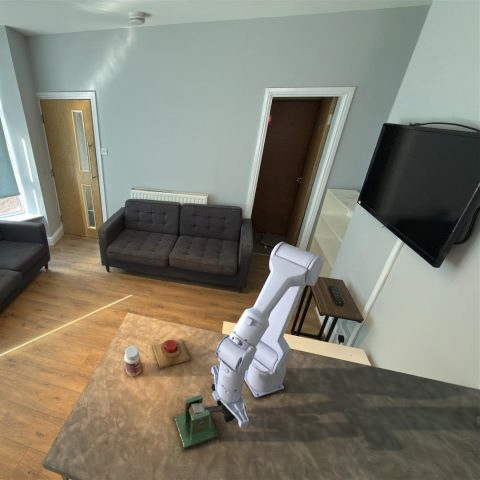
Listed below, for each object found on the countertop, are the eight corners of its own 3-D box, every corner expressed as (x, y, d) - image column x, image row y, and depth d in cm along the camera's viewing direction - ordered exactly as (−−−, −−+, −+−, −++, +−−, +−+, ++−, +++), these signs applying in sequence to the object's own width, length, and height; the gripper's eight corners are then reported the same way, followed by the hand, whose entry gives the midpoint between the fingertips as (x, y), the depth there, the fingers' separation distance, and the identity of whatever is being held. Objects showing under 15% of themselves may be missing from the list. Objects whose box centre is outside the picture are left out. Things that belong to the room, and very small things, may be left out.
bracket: (205, 409, 71) (207, 387, 67) (217, 436, 65) (221, 415, 61) (174, 419, 69) (174, 398, 64) (184, 449, 63) (184, 428, 58)
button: (174, 342, 87) (174, 339, 87) (178, 351, 84) (178, 347, 84) (164, 345, 87) (164, 341, 86) (167, 354, 84) (167, 350, 83)
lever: (226, 405, 69) (231, 397, 68) (232, 418, 67) (237, 409, 66) (187, 409, 65) (191, 400, 64) (192, 422, 62) (197, 413, 61)
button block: (180, 340, 91) (181, 334, 90) (189, 360, 84) (189, 353, 83) (153, 348, 89) (153, 341, 88) (159, 368, 82) (159, 361, 81)
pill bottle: (138, 377, 79) (137, 359, 76) (124, 375, 80) (121, 356, 76) (142, 364, 84) (141, 346, 80) (128, 361, 84) (126, 343, 81)
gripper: (202, 358, 67) (199, 391, 73) (231, 416, 54) (225, 449, 61) (226, 351, 68) (222, 383, 75) (260, 406, 56) (251, 439, 62)
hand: (225, 412), depth 68 cm, fingers closed on lever, 3 cm apart
